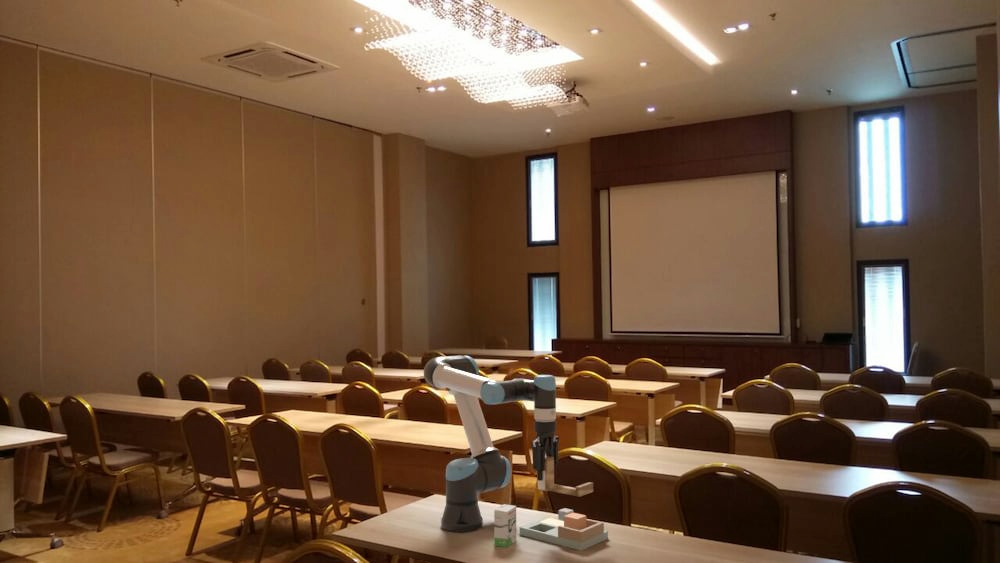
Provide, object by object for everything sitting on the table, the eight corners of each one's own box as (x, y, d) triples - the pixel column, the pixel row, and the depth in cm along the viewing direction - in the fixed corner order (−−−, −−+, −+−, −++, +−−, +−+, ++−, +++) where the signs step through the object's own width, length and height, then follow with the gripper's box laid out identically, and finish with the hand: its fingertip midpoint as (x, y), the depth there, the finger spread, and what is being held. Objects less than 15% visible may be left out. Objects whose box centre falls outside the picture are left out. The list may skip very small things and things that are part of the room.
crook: (535, 488, 251) (535, 456, 251) (551, 483, 258) (551, 452, 258) (578, 497, 239) (577, 463, 240) (593, 491, 246) (592, 459, 247)
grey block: (558, 521, 268) (558, 510, 268) (564, 518, 271) (564, 508, 271) (567, 523, 266) (567, 512, 266) (573, 520, 269) (573, 510, 269)
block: (563, 532, 247) (563, 516, 247) (573, 528, 251) (573, 512, 251) (577, 535, 243) (577, 519, 243) (586, 531, 247) (586, 515, 247)
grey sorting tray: (519, 534, 253) (519, 517, 253) (547, 523, 265) (547, 507, 265) (581, 550, 236) (581, 532, 236) (608, 538, 248) (607, 520, 248)
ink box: (507, 547, 239) (507, 511, 239) (493, 545, 241) (493, 510, 241) (516, 540, 247) (516, 505, 247) (503, 538, 249) (503, 503, 249)
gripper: (539, 424, 242) (539, 494, 241) (568, 418, 255) (568, 485, 254) (521, 422, 247) (521, 491, 246) (551, 416, 260) (551, 481, 259)
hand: (545, 488), depth 250 cm, fingers closed on crook, 4 cm apart
